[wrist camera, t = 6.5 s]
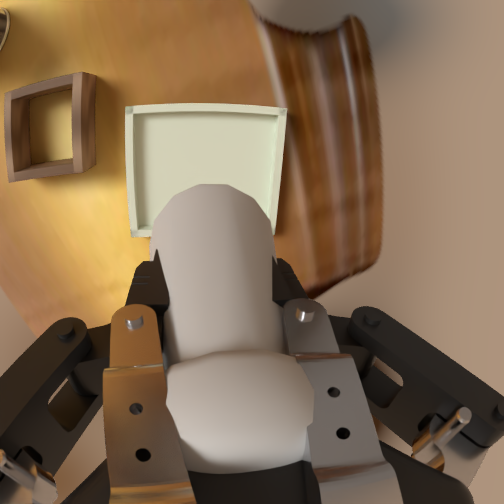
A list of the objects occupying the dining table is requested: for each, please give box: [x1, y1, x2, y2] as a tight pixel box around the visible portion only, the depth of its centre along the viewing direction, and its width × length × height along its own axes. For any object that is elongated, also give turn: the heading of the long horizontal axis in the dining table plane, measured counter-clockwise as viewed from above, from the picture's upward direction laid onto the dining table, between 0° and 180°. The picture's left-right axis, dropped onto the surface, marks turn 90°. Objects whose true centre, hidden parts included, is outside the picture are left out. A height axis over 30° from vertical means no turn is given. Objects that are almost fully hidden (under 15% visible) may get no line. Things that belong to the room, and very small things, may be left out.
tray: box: [125, 103, 287, 237], centre depth 29 cm, size 14×16×2 cm
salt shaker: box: [149, 184, 314, 474], centre depth 10 cm, size 6×6×13 cm
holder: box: [4, 72, 96, 183], centre depth 22 cm, size 10×10×4 cm
